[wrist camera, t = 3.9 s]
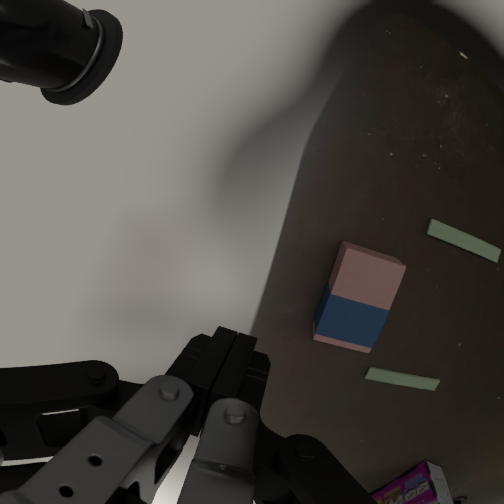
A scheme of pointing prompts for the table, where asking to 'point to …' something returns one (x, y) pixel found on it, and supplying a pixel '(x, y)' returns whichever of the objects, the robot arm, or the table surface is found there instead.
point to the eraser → (357, 297)
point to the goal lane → (459, 240)
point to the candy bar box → (416, 487)
